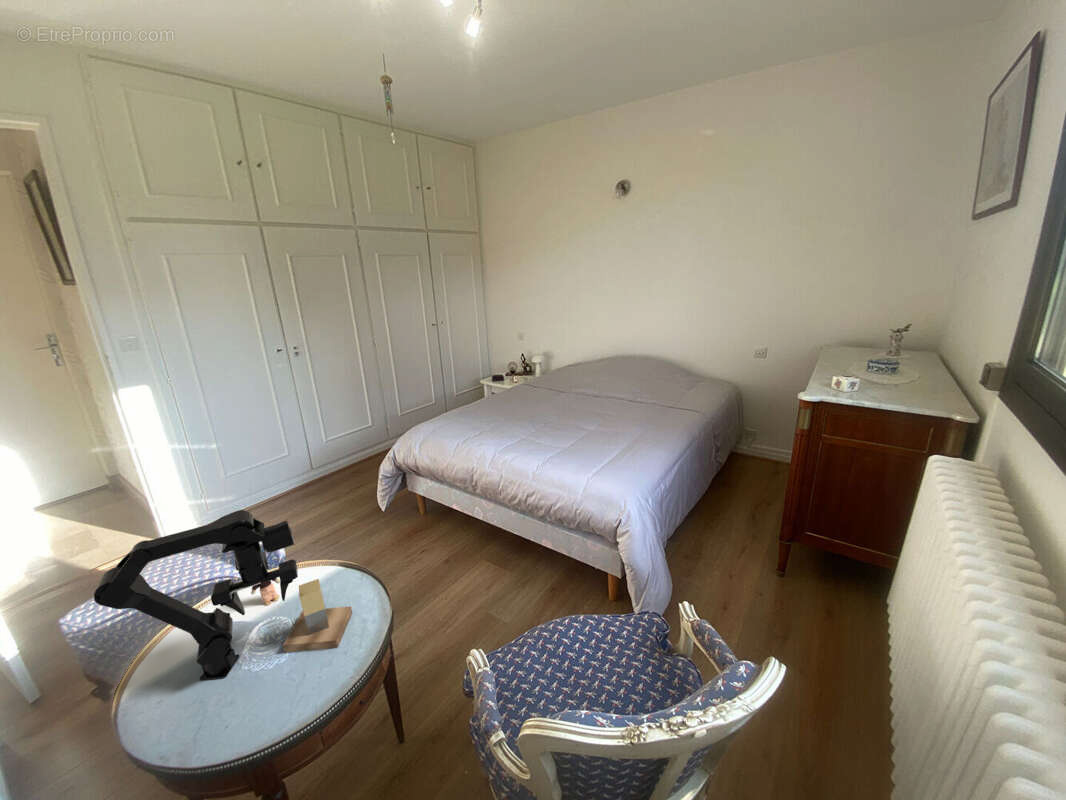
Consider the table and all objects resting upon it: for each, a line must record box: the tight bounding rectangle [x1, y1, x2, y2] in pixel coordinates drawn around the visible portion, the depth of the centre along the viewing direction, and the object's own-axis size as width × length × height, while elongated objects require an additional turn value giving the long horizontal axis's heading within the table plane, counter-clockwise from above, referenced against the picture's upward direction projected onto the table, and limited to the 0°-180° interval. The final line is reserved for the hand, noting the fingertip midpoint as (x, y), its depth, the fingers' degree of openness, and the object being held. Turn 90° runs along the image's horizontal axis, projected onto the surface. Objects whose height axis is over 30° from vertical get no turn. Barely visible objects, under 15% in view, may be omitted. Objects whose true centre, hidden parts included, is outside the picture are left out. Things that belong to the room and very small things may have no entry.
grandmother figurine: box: [250, 577, 280, 606], centre depth 131 cm, size 8×4×13 cm, turn 144°
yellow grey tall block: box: [298, 578, 329, 635], centre depth 118 cm, size 5×5×13 cm
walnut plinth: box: [282, 606, 353, 653], centre depth 121 cm, size 14×12×2 cm
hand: (264, 606), depth 114 cm, fingers open, 9 cm apart
